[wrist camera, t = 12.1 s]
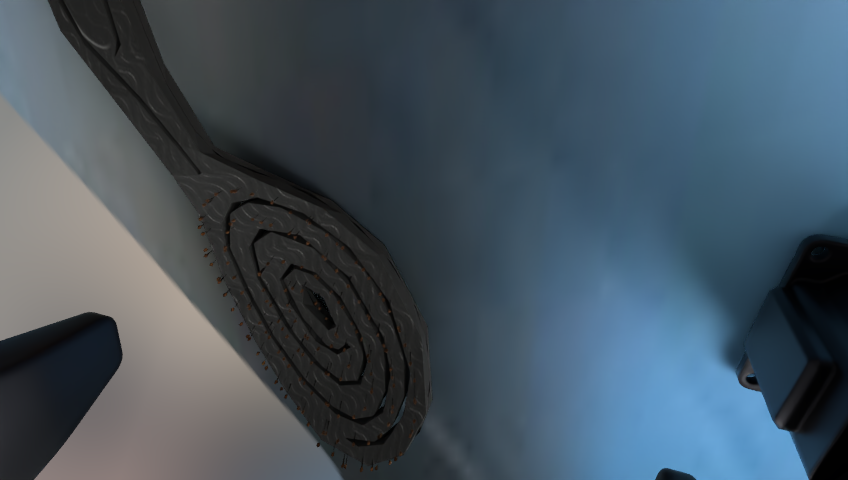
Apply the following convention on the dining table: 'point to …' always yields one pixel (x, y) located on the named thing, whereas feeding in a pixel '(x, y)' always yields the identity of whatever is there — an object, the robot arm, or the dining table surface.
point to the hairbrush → (277, 254)
